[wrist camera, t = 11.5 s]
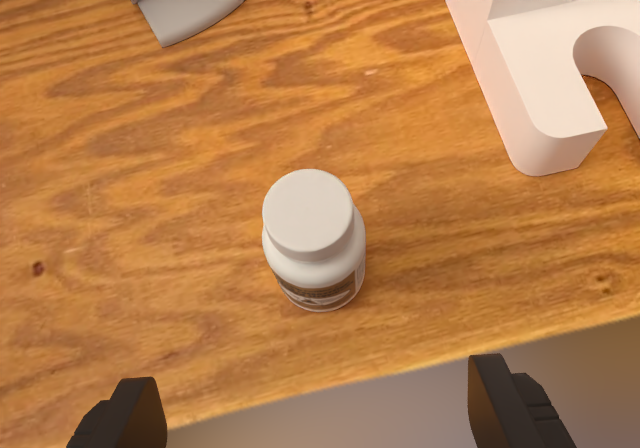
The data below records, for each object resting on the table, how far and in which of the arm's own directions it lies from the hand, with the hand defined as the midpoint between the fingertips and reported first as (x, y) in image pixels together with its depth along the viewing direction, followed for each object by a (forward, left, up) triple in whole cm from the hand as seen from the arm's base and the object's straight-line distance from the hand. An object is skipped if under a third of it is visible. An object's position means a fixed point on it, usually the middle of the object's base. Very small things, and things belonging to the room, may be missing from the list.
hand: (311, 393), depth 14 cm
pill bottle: (+6, +3, -12) cm, 14 cm away
